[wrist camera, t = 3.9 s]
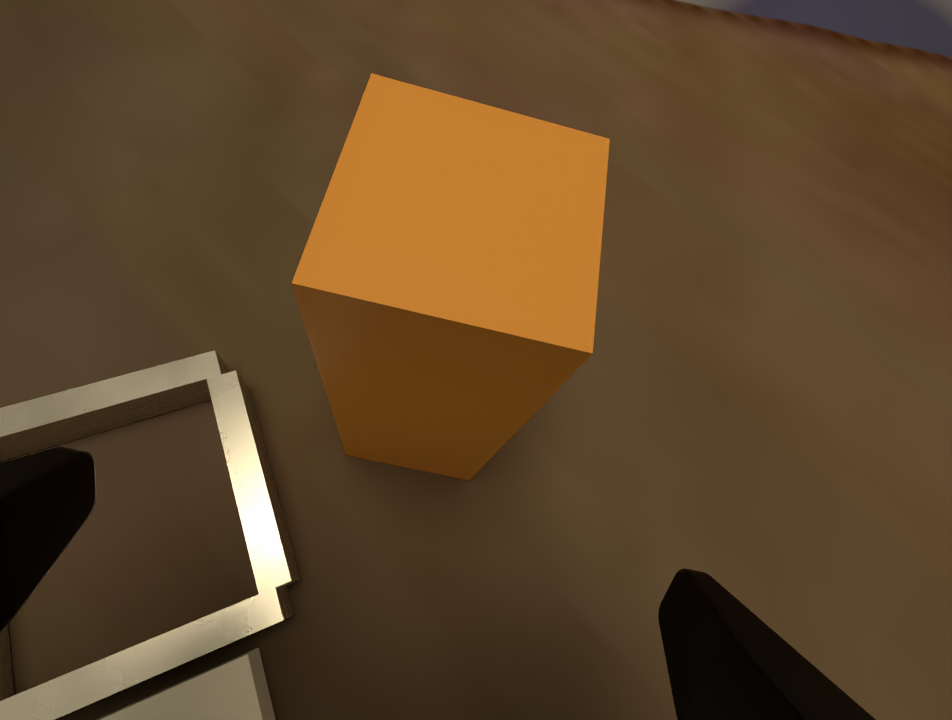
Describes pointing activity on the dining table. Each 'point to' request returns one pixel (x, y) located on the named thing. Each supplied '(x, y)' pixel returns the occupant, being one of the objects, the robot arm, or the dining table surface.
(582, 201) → the cap
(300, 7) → the dining table surface
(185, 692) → the breaker bank
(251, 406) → the frame
